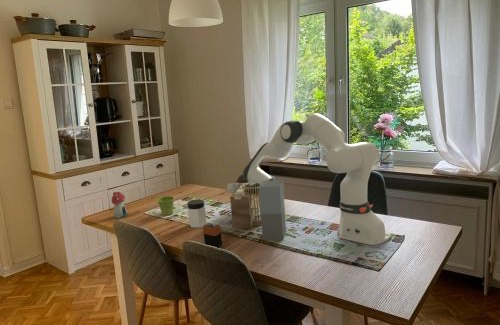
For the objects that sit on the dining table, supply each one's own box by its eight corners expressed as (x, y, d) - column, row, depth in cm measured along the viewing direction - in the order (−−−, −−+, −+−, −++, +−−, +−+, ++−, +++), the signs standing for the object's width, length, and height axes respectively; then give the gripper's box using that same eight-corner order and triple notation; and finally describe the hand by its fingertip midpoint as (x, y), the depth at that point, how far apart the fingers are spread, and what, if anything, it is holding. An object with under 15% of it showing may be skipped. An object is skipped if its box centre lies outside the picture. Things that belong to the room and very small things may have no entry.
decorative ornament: (119, 219, 209) (115, 193, 206) (110, 218, 212) (106, 192, 209) (131, 213, 218) (127, 188, 215) (121, 213, 220) (118, 187, 217)
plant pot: (174, 216, 209) (172, 200, 207) (157, 217, 209) (155, 201, 207) (177, 210, 218) (176, 195, 216) (161, 211, 218) (159, 196, 216)
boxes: (237, 220, 195) (233, 174, 190) (289, 220, 189) (286, 173, 184) (225, 239, 173) (220, 187, 168) (283, 240, 167) (279, 186, 162)
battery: (216, 248, 164) (214, 226, 162) (204, 245, 167) (202, 224, 165) (222, 244, 167) (220, 222, 165) (210, 242, 171) (208, 220, 169)
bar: (243, 187, 196) (243, 183, 195) (249, 187, 195) (248, 183, 195) (234, 199, 178) (233, 194, 178) (240, 199, 177) (240, 193, 177)
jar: (188, 223, 196) (185, 200, 194) (204, 220, 198) (202, 198, 196) (191, 229, 188) (188, 205, 185) (207, 226, 190) (205, 202, 188)
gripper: (231, 185, 206) (223, 178, 194) (268, 184, 202) (264, 177, 189) (230, 196, 204) (223, 190, 192) (268, 196, 200) (263, 190, 187)
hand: (243, 184), depth 190 cm, fingers open, 5 cm apart
